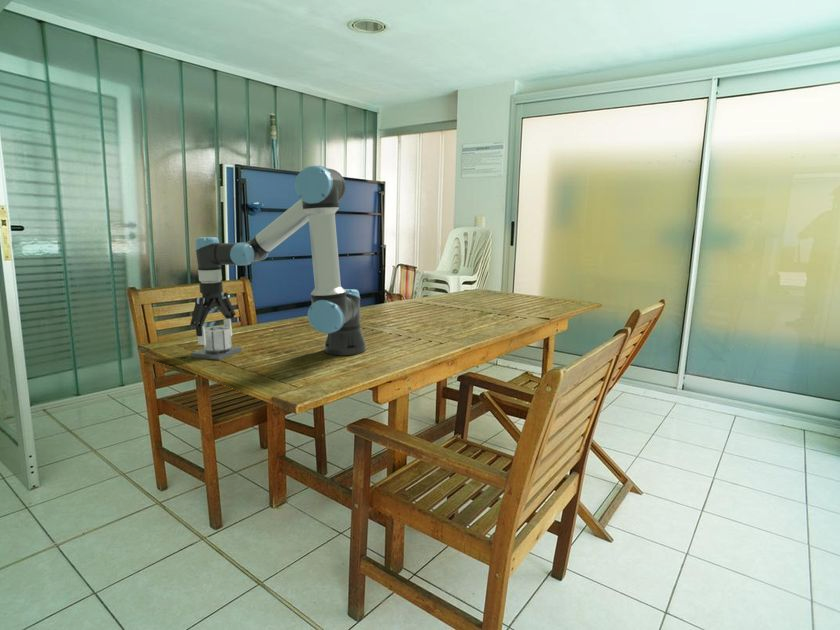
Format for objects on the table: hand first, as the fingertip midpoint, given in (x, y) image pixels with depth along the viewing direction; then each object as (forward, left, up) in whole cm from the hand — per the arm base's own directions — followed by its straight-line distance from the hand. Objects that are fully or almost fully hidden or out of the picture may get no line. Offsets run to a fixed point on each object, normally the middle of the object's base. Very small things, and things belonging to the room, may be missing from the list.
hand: (215, 340), depth 178 cm
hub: (0, -1, -3) cm, 3 cm away
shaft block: (0, 0, -5) cm, 5 cm away
